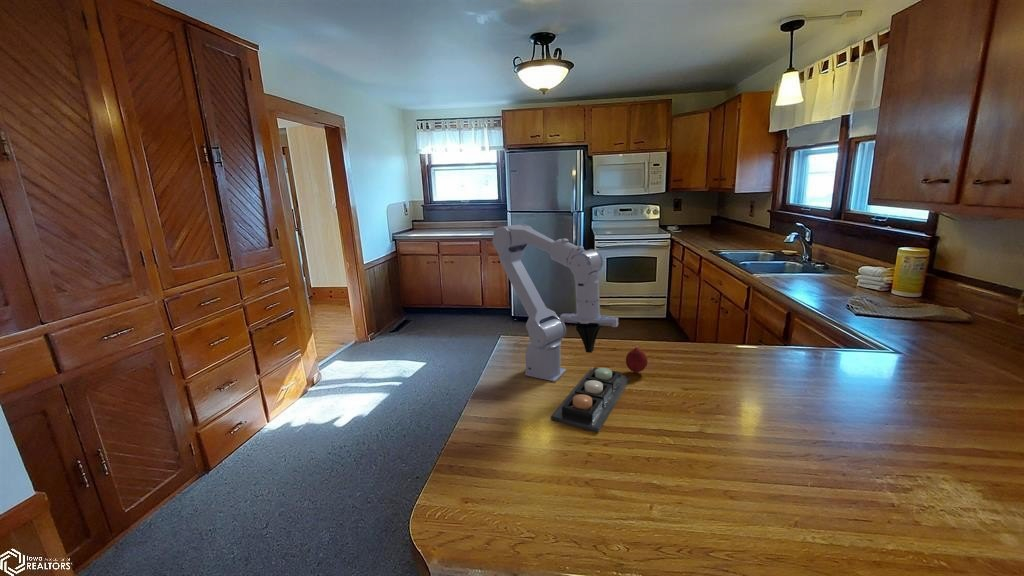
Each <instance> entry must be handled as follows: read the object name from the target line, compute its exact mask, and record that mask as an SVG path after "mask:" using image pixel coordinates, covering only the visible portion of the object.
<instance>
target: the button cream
mask: <svg viewBox="0 0 1024 576" xmlns="http://www.w3.org/2000/svg"><path fill="white" fill-rule="evenodd" d="M585 392H590V393H594V394H599V395H601V394H602V393H603V384H602V383H601V382H599V381H595V380H590V381H587V382H585Z"/></svg>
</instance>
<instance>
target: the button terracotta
mask: <svg viewBox="0 0 1024 576" xmlns="http://www.w3.org/2000/svg"><path fill="white" fill-rule="evenodd" d="M573 407H575V408H579V409H583V410H587V411H590V410H591V408H592V398H591V397H590V396H588V395H583V394H580V395H576V396H574V397H573Z"/></svg>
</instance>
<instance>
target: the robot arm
mask: <svg viewBox="0 0 1024 576" xmlns="http://www.w3.org/2000/svg"><path fill="white" fill-rule="evenodd" d="M569 241H570V240H569V239H568V238H559V239H557V240H554V239H552V238H550V237H548V236H547V235H544V234H543V233H542V232H539V231H537V230H535V229H533V228H532V226H531V225H526V224H525V223H518V224H513V225H505V226H498V227H496V228H495V229H494V231H493V236H492V241H491V243H492V245H493V247H494V248H495V251H496V252H497V255H498V258H499V262H500V265H501V266H502V268H503V270H504V272H505V275H506V276H507V278H508V280H509V281H510V284H511V285H512V287H513V289H514V291H515V293H516V295H517V297H518V299H519V300H520V303H521V304H522V306H523V308H524V310H525V312H526V314H527V316H528V319H527V320H526V321H527V322H526V324H525V328H526V331H527V334H528V338H529V342H528V344H527V346H526V349H525V373H524V375H525V376H527V377H531V378H536V379H541V380H544V381H545V380H546V381H550V382H557V381H558V380H559V379H560V378H561V376H562V375H564V373H566V372H567V369H566V368H563V367H562V366H561V365H562V361H561V360H562V359H561V358H562V357H561V356H562V355H561V353H562V351H561V350H562V348H561V347H562V346H561V345H562V344H561V343H562V342H563V338H564V337H565V336H566V334H567V327H566V324H565V323H570V324H571V323H572V324H577V325H576V327H575V330H576V331H577V333H578V335H579V337H580V339H581V341H582V343H583V346H584V350H585V352H586V353H587V354H589V353H593V351H594V348H595V344H596V343H595V342H596V339H597V337H598V334H599V331H600V329H601V326H606V327H612V328H617V327H618V326H619V317H616V316H609V315H604V314H601V309H600V308H601V305H600V304H601V303H600V277H599V276H600V275H599V271H600V270H601V269H602V267H603V264H604V260H603V257H602V255H601V254H600V252H598V251H597V250H596V249H593V248H590V249H584V246H583V245H579V246H578V245H576V244H573V243H571V242H569ZM528 245H529V246H531V247H534V248H536V249H539V250H541V251H544V252H546V253H548V254H549V257H550V260H552V261H555V262H556V263H558V264H561V265H562V266H565V267H566V268H569V270H570V272H571V273H572V275H573V279H574V280H573V281H574V282H575V283H574V285H575V302H576V303H575V304H576V313H562V314H560V316H558V315H557V314H556V312H555V311H554V310H552V309H550V308H548V307H547V306H546V304H545V302H544V301H543V299H542V297H541V295H540V293H539V291H538V290H537V287H536V286H535V284H534V282H533V280H532V278H531V277H530V275H529V273H528V271H527V269H526V268H525V266H524V264H523V262H522V261H521V260H522V256H523V255H524V253H525V251H526V249H527V247H528Z"/></svg>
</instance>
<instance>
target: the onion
mask: <svg viewBox="0 0 1024 576" xmlns="http://www.w3.org/2000/svg"><path fill="white" fill-rule="evenodd" d="M648 363H649V362H648V357H647V355H646V353H645V352H644V351H643V350H641V349H640V346H639V345H636V346H635V348H633V349H631V350H630V351H629V352H628V353H627V355H626V357H625V364H626V367H627V368H628V369H629V370H630V371H631V372H632V373H634V374H638V373H641V372H642V371H644V370H645V369H646V367H647V366H648Z"/></svg>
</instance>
